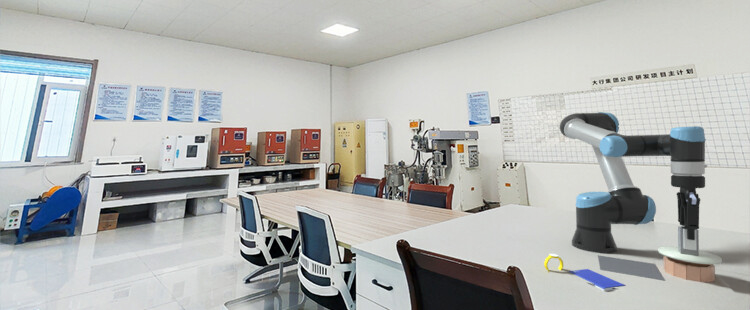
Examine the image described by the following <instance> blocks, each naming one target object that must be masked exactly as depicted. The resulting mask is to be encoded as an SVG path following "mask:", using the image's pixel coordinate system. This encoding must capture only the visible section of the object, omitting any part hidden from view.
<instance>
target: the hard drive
mask: <svg viewBox="0 0 750 310" xmlns="http://www.w3.org/2000/svg"><path fill="white" fill-rule="evenodd" d="M568 273H570V274H572V275H575V276H577V277H579V278H581V279H583V280H585V281H587V284H588V285H590V286H592V287H594V288H596V289H599V290H601V291H602V292H607V291H609V292H610V291H615V290H618V287H624V286H626V284H624V283H622V282H619V281H617V280H614V279H612V278H610V277H607V276H605V275H603V274H600V273H598V272H596V271H593V270H590V269H589V268H583V269H576V270H569V271H568ZM615 287H616V288H615Z"/></svg>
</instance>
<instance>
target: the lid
mask: <svg viewBox="0 0 750 310" xmlns="http://www.w3.org/2000/svg"><path fill="white" fill-rule="evenodd" d="M696 243H697V250H689V249H684V234H683V229H682V227H680V225H679V226H678V225H677V246H661V247H658V248H657V252H658V254H660V255H662V256H663V257H664V256H667V257H670V258H673V259H677V260H681V261H686V262H692V263H699V264H713V265H718V264H719V265H720V264H722V263H723V261H722V260H723V258H721V256H719V255H717V254H714V253H711V252H707V251H703V250H700V247H699V245H700V244H699V243H700V241H699V229H697V230H696Z"/></svg>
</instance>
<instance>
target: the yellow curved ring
mask: <svg viewBox="0 0 750 310" xmlns="http://www.w3.org/2000/svg"><path fill="white" fill-rule="evenodd" d="M551 259H558V260H559V266H558V268H557V269H558V270H559V271H562V270H563V269H564V261H563V259H562V258H561V257H559V254H556V253H549V254H548V256H547V257H545V260H544V263H543V265H544V268H545V270H546V271H547V272H548V273H550V272H551V270H550V269H549V267H548V263H549V261H550V260H551Z"/></svg>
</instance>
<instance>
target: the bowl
mask: <svg viewBox="0 0 750 310" xmlns="http://www.w3.org/2000/svg"><path fill="white" fill-rule="evenodd" d="M662 258H663V271H664V272H665V273H666V274H668V275H670V276H673V277H674V278H675V277H676V278H679V279H682V280H683V279H684V280H687V281H692V282H699V283H713V282H714V281H716V266H715V264H699V263H692V262H686V261H681V260H677V259H673V258H670V257H667V256H664V255H663V257H662Z"/></svg>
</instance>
